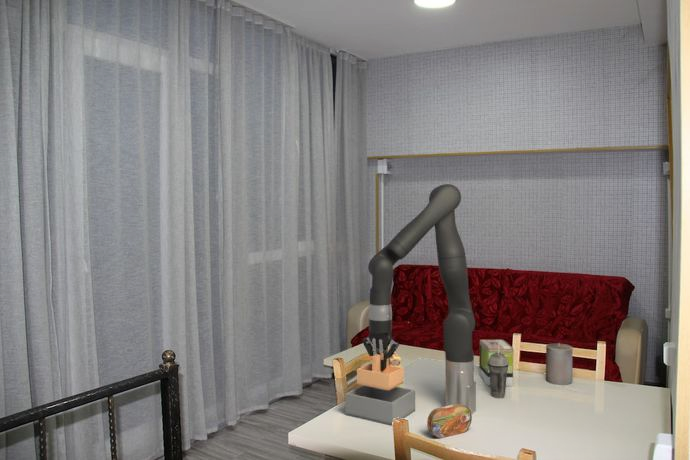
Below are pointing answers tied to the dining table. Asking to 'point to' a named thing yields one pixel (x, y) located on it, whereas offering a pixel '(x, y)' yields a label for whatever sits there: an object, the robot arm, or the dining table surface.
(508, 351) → the tea box
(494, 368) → the beverage cup
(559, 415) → the dining table surface
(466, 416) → the tin
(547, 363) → the pillar candle
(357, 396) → the large crate
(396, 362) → the candy box
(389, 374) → the small basket
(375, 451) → the dining table surface
